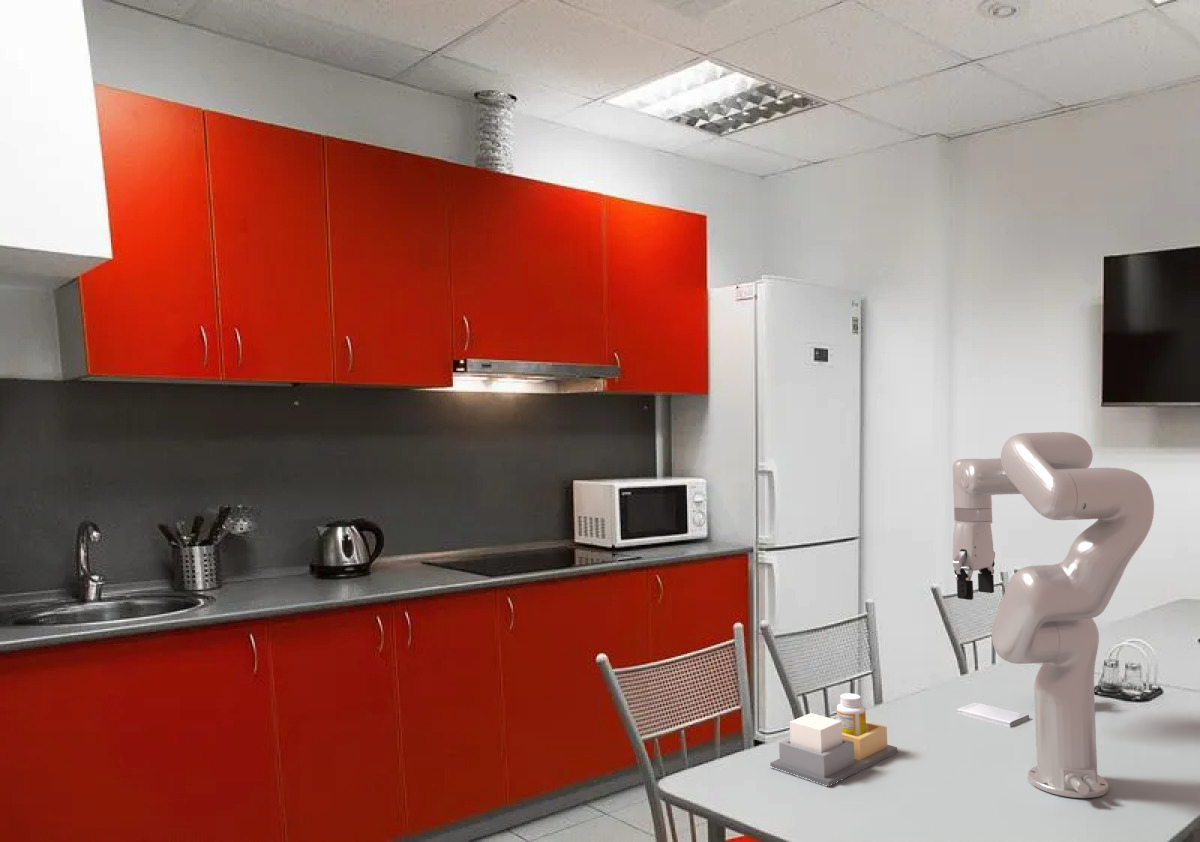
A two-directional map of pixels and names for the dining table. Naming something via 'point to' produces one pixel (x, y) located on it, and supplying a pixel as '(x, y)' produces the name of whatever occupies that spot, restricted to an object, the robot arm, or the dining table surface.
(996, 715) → the hard drive
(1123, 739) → the dining table surface
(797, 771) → the block sorting tray
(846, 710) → the supplement bottle
